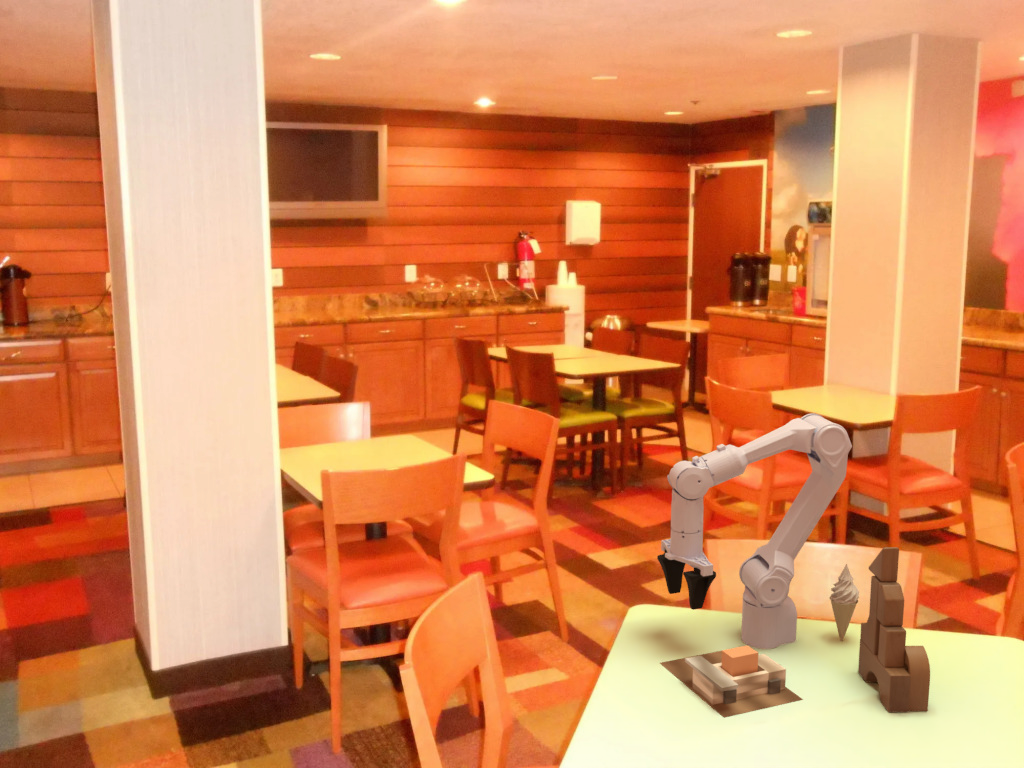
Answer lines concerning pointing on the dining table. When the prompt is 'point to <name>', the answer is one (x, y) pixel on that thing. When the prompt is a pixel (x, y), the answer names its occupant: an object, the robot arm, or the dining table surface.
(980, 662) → the dining table surface
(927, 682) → the wooden toy
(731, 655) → the orange upright block
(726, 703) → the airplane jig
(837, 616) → the ice cream cone
